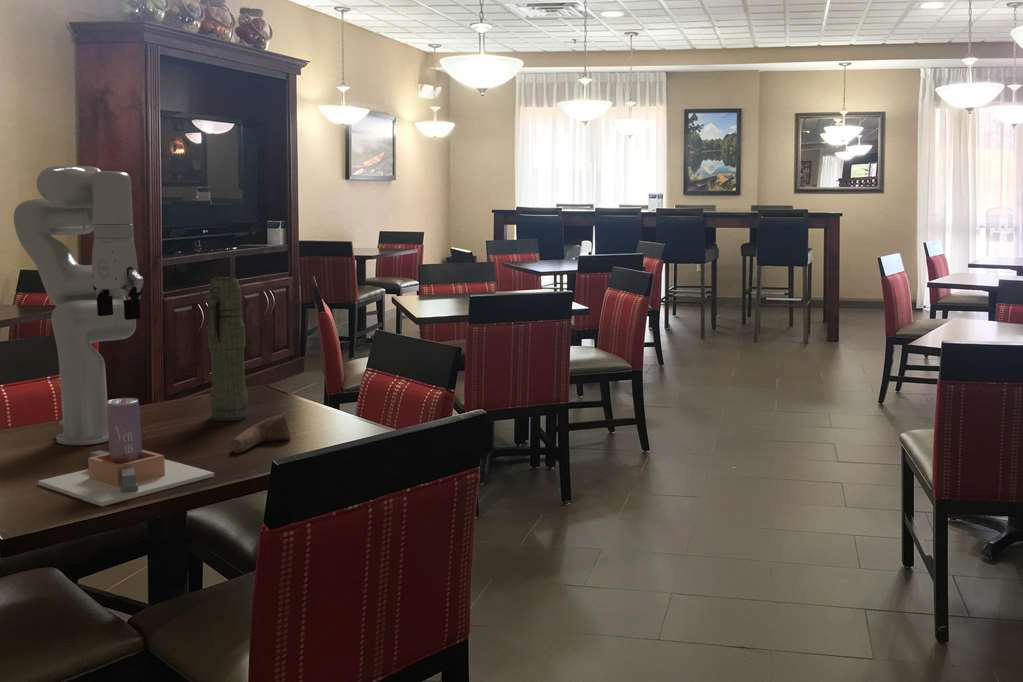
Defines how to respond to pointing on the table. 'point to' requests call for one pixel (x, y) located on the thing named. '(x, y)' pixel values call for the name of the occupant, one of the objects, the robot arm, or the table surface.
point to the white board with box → (124, 478)
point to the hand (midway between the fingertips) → (118, 317)
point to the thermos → (227, 350)
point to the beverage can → (124, 430)
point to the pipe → (262, 433)
